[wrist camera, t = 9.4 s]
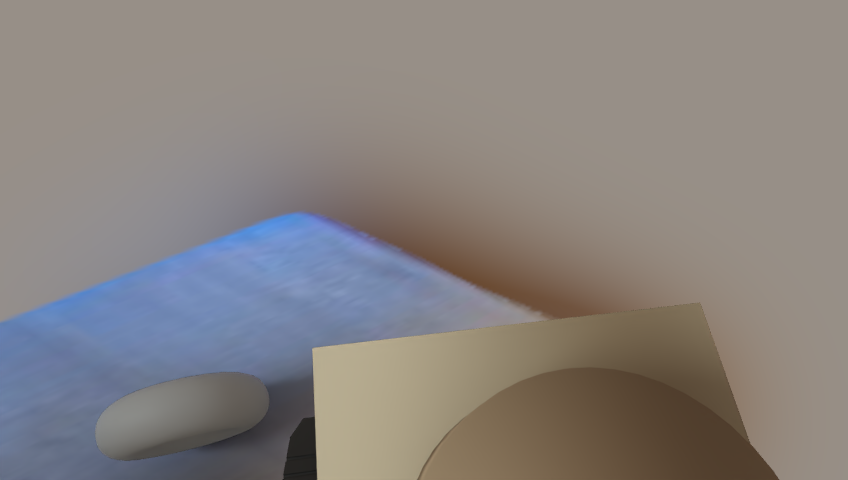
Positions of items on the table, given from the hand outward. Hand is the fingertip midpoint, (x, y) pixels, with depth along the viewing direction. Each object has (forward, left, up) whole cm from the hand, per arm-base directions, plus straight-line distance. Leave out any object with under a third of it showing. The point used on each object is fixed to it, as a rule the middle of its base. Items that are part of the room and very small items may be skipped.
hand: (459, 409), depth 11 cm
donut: (-14, -4, -27) cm, 31 cm away
